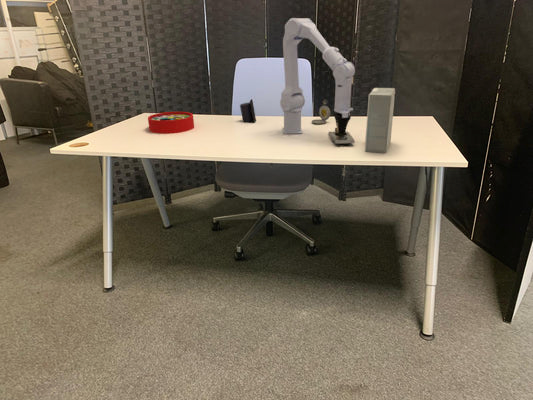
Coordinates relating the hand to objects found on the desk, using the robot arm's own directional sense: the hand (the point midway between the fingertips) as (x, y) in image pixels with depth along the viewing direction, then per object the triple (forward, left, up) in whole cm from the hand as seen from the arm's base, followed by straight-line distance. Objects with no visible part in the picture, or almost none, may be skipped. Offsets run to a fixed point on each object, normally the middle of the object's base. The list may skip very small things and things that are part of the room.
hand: (340, 132), depth 152 cm
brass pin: (0, 0, -1) cm, 1 cm away
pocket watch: (-31, -4, -3) cm, 31 cm away
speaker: (-37, -38, -3) cm, 53 cm away
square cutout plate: (0, 0, -3) cm, 3 cm away
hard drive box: (+10, +12, -3) cm, 16 cm away
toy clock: (-26, -72, -3) cm, 77 cm away
